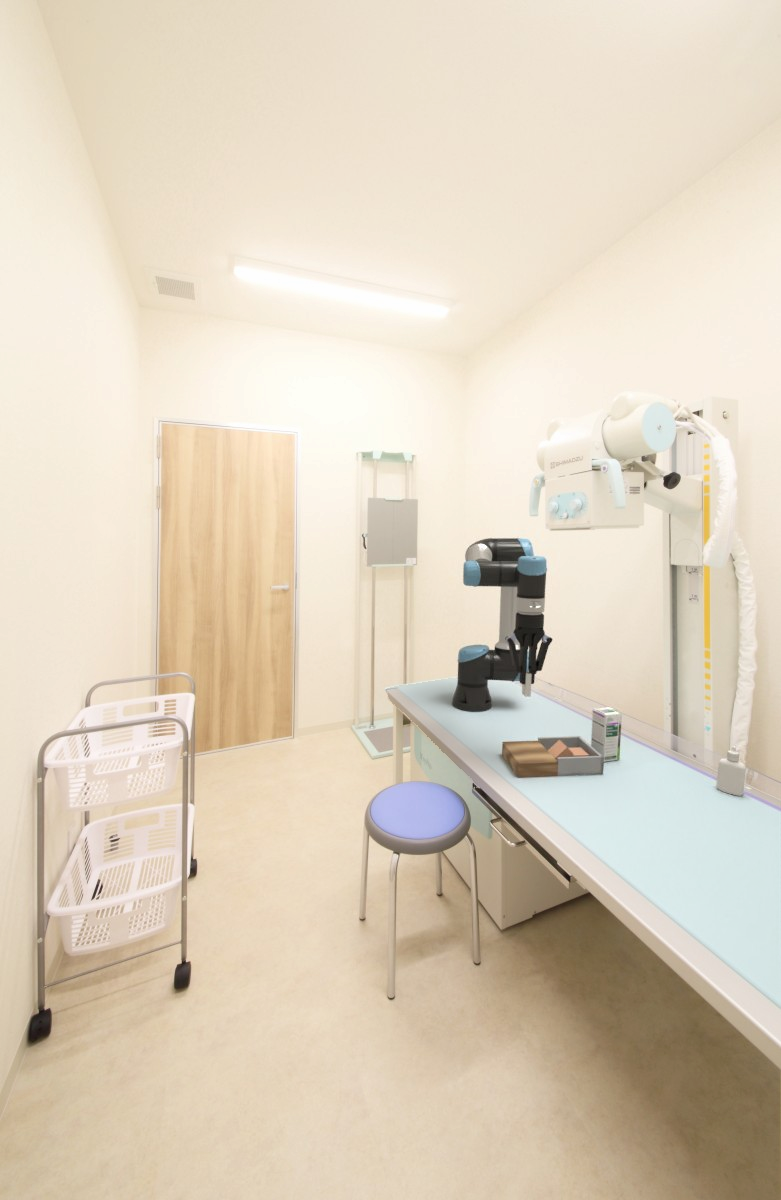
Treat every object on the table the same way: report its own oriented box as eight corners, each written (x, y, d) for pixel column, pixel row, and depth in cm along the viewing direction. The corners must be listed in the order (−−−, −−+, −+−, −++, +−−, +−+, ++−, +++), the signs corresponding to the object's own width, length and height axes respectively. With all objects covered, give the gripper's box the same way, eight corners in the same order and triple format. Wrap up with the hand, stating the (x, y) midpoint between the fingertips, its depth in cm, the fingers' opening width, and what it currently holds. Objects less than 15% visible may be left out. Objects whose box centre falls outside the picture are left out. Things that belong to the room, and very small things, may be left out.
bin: (537, 753, 143) (538, 737, 142) (578, 751, 144) (579, 736, 143) (557, 776, 129) (558, 758, 129) (603, 774, 130) (604, 757, 130)
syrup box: (603, 762, 137) (606, 714, 135) (589, 753, 143) (592, 707, 141) (619, 760, 139) (623, 712, 137) (605, 751, 144) (608, 706, 142)
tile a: (553, 758, 139) (546, 751, 138) (565, 746, 138) (559, 739, 138) (560, 766, 134) (554, 759, 133) (573, 754, 133) (567, 747, 133)
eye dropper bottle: (725, 784, 125) (729, 741, 124) (746, 795, 120) (751, 750, 118) (712, 786, 124) (717, 743, 122) (733, 798, 119) (738, 752, 117)
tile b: (580, 747, 139) (580, 757, 139) (564, 747, 138) (563, 757, 139) (589, 755, 134) (588, 765, 134) (572, 755, 134) (571, 765, 134)
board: (502, 754, 142) (502, 741, 142) (537, 753, 143) (538, 740, 142) (518, 777, 128) (519, 763, 128) (557, 776, 129) (558, 762, 129)
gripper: (511, 615, 126) (508, 700, 129) (558, 614, 127) (554, 698, 130) (502, 610, 133) (499, 691, 136) (547, 610, 134) (543, 690, 137)
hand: (526, 694), depth 133 cm, fingers closed
